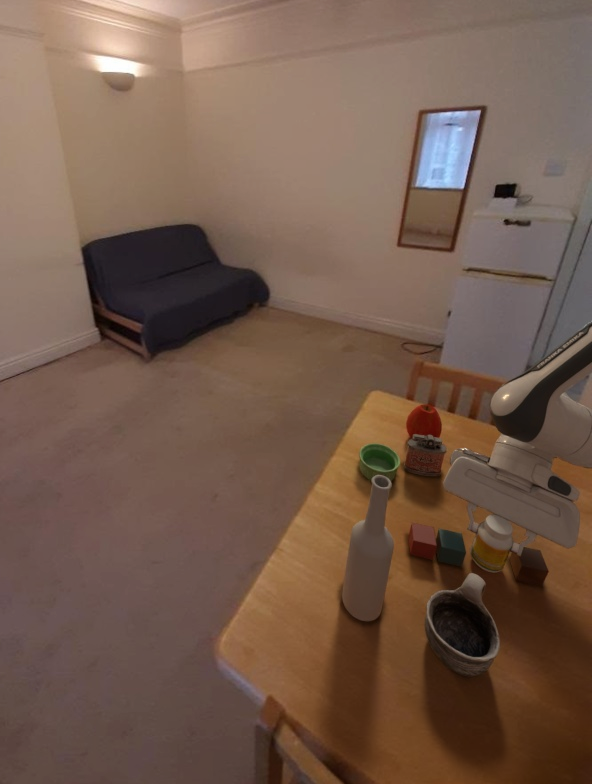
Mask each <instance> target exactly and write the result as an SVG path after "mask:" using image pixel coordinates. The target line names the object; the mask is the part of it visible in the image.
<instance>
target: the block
mask: <svg viewBox="0 0 592 784" xmlns="http://www.w3.org/2000/svg"><path fill="white" fill-rule="evenodd" d="M435 537H436V543H437V547H436V551H435V553H436V558H437V562H441V563H444V564H449V565H452V566H457V567H463V564H464V560H465V557H466V555H467V549H466V545H465V541H464V537H463V533H462V532H458V531H452V530H448V529H445V528H438V529H437V533H436V536H435Z"/></svg>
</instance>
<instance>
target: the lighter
mask: <svg viewBox="0 0 592 784" xmlns="http://www.w3.org/2000/svg"><path fill="white" fill-rule="evenodd" d="M447 450H448V449H447V446H446V445H445V444H443V438H440V437H439V438H436V437H433V436H432V435H427V436H424V435H417V434H414V435H413V437H412V439H411V438H410V439H409V440H408V441H407V449H406V455H405V460H404V462H403V469H404V470H405V471H406V472H409V473H412V474H415V475H420V476H426V477H440V476H441V474H442V466H443V463H444V458H445V454H447Z"/></svg>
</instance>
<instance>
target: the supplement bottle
mask: <svg viewBox="0 0 592 784" xmlns="http://www.w3.org/2000/svg"><path fill="white" fill-rule="evenodd" d="M478 524H479V526H478V528H477V532H476V534H475V535H474V538H473V540H472V543H471V547H470V551H469V553H470V556H471V559H472V560H473V562H474V563H475V564H476V565H477V566H478V567H479V568H480V569H482V570H484V571H486V572H489V573H496V574H497V573H499V572H501V571H503V569H504V568H505V565H506V563H507V560H508V559H509V555H510V553H511V552H510V550H511V548H512V547H513V546H512V545H513V542H514V538H513V532H514V528H513V525H512V523H511V522H510V521H508V520H506V519H505V518H503V517H500V516H498V515H495V514H489V515H487V516H486V518H485V520H484V521H481V522H480V523H478Z"/></svg>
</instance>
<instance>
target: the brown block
mask: <svg viewBox="0 0 592 784" xmlns="http://www.w3.org/2000/svg"><path fill="white" fill-rule="evenodd" d="M510 553H511V554H510V556H509V557H508V560H509V561H510V562H509V563H510V565H511V570H512V572H513V575H514V578H515V580H516V581H520V582H524V583H527V584H532V585H535V586H540V587H543V585H544V583H545V581H546V579H547V577H548V574H549V572H550V571H549V568H548V566H547V564H546V561H545V558H544V555H543V554H542V551H541V550H540V549H535V548H531V547H527V546H525V547H523V550H522V553H521V556H518V555H516V554H514V553H512V552H510Z"/></svg>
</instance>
